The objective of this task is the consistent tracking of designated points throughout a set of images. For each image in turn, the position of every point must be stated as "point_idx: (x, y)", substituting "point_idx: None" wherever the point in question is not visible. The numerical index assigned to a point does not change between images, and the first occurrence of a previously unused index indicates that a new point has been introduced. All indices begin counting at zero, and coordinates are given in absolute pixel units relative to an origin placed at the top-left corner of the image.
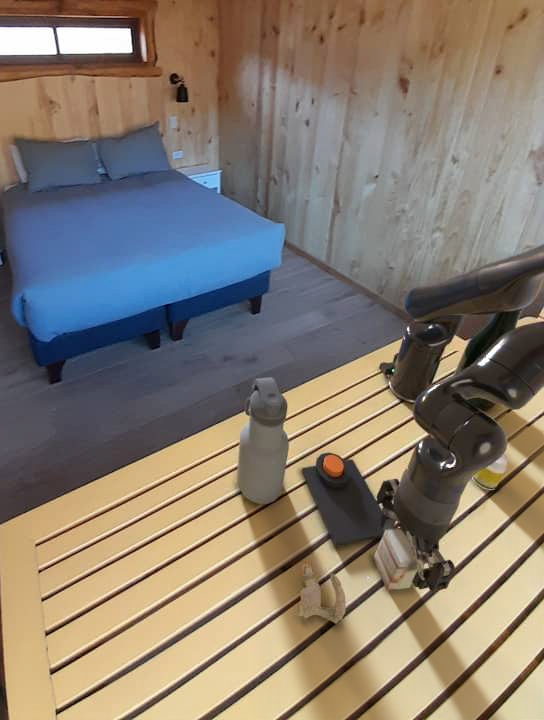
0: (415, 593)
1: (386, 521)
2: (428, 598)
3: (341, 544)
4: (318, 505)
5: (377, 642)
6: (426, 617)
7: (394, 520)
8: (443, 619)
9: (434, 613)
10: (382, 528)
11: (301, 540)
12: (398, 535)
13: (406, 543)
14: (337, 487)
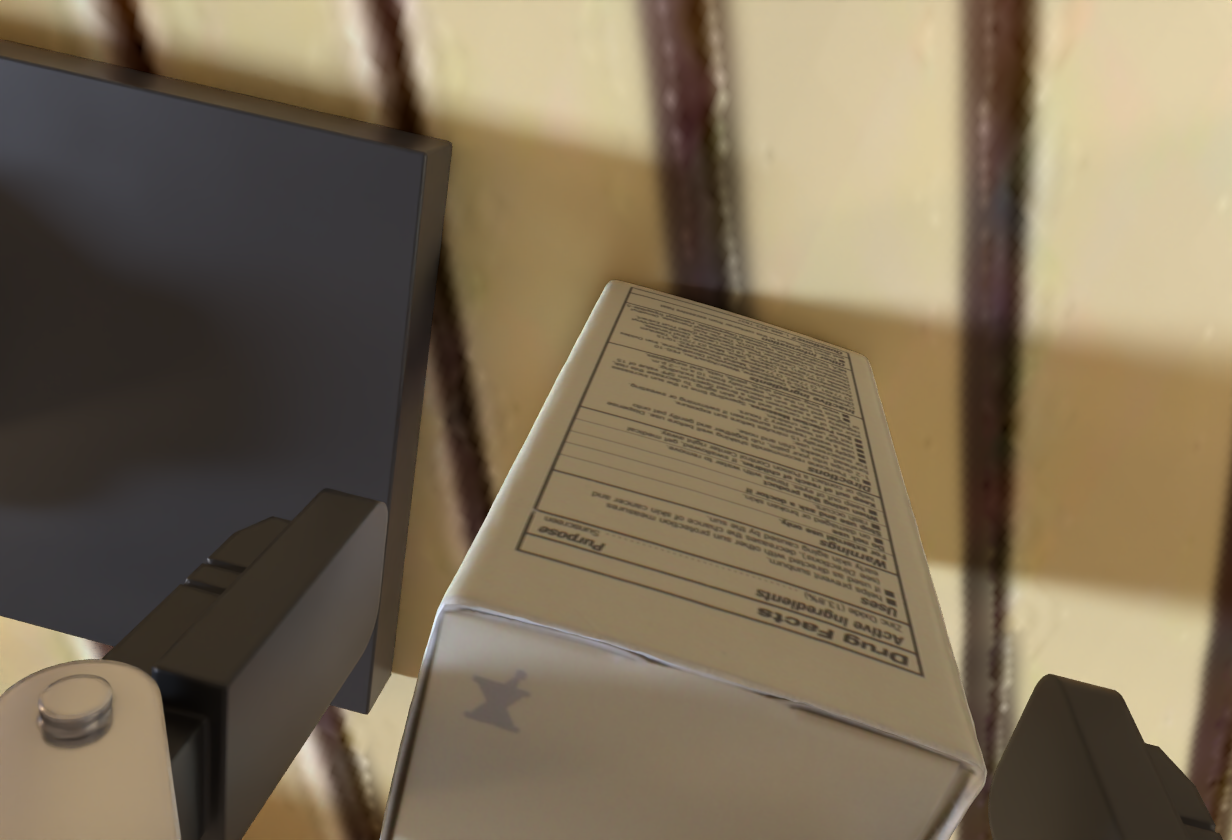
0: (927, 342)
1: (267, 789)
2: (1020, 261)
3: (386, 648)
4: (65, 631)
5: (987, 824)
6: (1102, 403)
7: (284, 641)
8: (1209, 271)
9: (1128, 311)
10: (351, 659)
11: (289, 824)
12: (502, 819)
13: (649, 816)
14: None
